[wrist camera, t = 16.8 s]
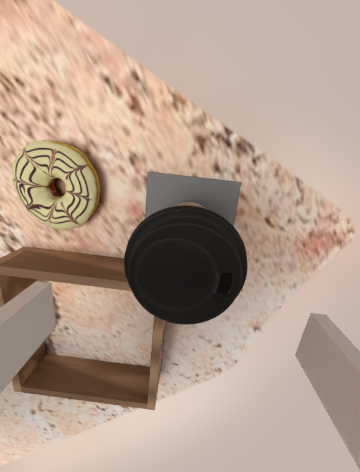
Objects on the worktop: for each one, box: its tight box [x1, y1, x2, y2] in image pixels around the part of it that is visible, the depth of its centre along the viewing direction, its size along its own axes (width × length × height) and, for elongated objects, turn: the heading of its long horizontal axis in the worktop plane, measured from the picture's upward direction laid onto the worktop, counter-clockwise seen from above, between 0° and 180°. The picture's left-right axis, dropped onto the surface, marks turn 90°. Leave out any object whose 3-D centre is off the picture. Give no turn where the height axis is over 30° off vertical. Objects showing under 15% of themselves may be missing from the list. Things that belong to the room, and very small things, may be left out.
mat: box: [145, 172, 241, 226], centre depth 29 cm, size 12×12×1 cm
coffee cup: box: [124, 202, 247, 324], centre depth 21 cm, size 9×9×15 cm
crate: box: [0, 247, 165, 410], centre depth 32 cm, size 22×22×6 cm
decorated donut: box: [12, 140, 100, 230], centre depth 26 cm, size 10×11×4 cm
